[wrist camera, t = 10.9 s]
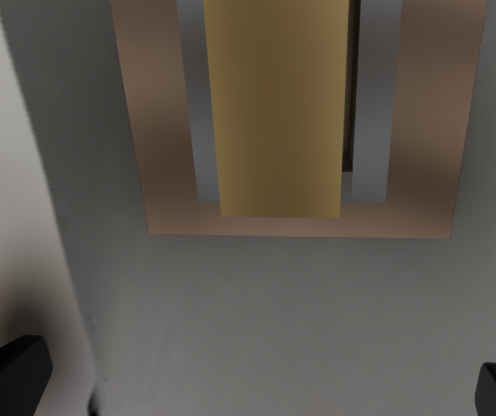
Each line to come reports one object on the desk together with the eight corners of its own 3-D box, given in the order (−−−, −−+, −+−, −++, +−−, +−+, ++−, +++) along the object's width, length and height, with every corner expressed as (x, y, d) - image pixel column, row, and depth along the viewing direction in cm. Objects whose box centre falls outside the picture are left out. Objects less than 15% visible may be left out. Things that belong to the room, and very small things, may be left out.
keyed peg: (335, -39, 15) (352, -62, 9) (329, 137, 17) (339, 218, 11) (245, -34, 15) (198, -52, 9) (253, 137, 18) (221, 216, 12)
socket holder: (443, 227, 19) (464, 265, 17) (155, 223, 21) (133, 257, 19) (533, -377, 12) (598, -486, 9) (71, -302, 14) (12, -374, 11)
